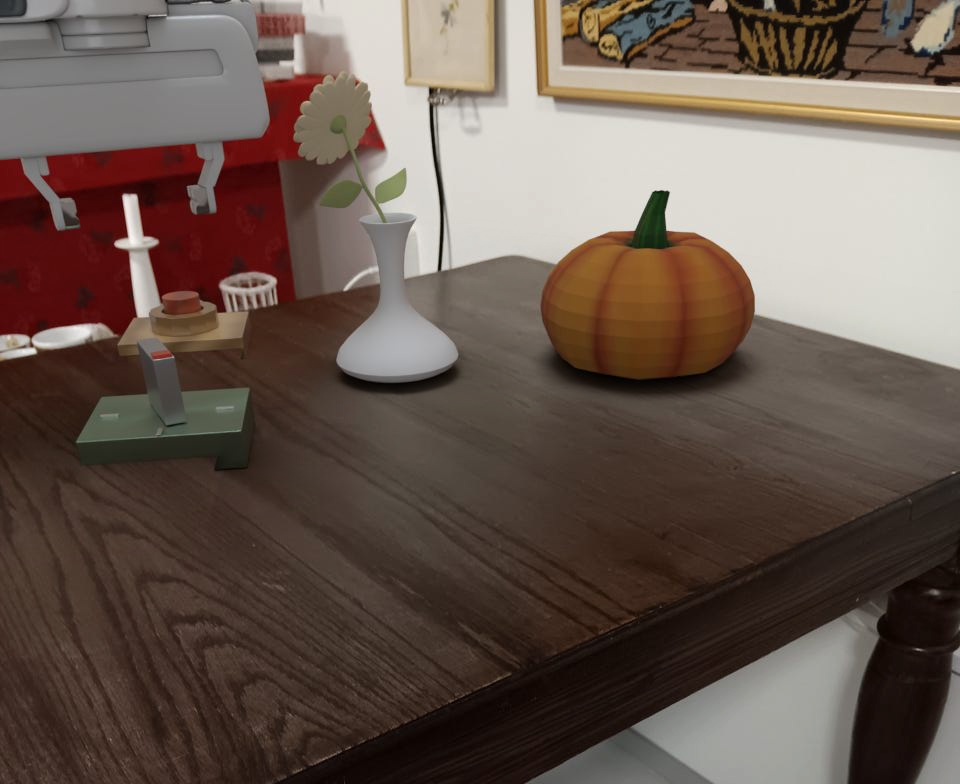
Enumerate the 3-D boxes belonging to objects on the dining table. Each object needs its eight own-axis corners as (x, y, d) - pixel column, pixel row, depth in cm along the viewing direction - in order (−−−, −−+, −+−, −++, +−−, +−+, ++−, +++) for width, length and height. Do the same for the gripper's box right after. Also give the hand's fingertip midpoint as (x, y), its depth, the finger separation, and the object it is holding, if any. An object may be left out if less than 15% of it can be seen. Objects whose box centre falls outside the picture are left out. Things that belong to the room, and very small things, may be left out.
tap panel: (84, 480, 74) (74, 440, 72) (109, 431, 83) (100, 394, 81) (247, 468, 75) (240, 428, 74) (255, 421, 84) (249, 384, 82)
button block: (121, 367, 97) (112, 326, 95) (138, 338, 106) (129, 300, 104) (245, 359, 99) (239, 318, 96) (251, 331, 107) (246, 293, 105)
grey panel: (149, 402, 79) (135, 336, 76) (169, 399, 80) (156, 333, 77) (166, 426, 75) (152, 357, 72) (187, 422, 75) (174, 353, 73)
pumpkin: (503, 374, 93) (500, 201, 85) (599, 324, 106) (605, 171, 98) (696, 410, 83) (714, 219, 75) (775, 350, 97) (798, 183, 89)
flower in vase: (430, 349, 100) (415, 63, 86) (479, 381, 91) (470, 68, 78) (306, 370, 95) (269, 71, 82) (344, 405, 87) (310, 77, 73)
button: (162, 318, 99) (159, 300, 98) (167, 309, 102) (164, 292, 101) (199, 316, 99) (196, 298, 98) (203, 307, 102) (200, 290, 101)
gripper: (238, -18, 69) (267, 199, 76) (-88, -10, 61) (-20, 230, 68) (265, -20, 64) (293, 210, 71) (-84, -12, 56) (-12, 245, 64)
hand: (138, 220), depth 70 cm, fingers open, 8 cm apart
